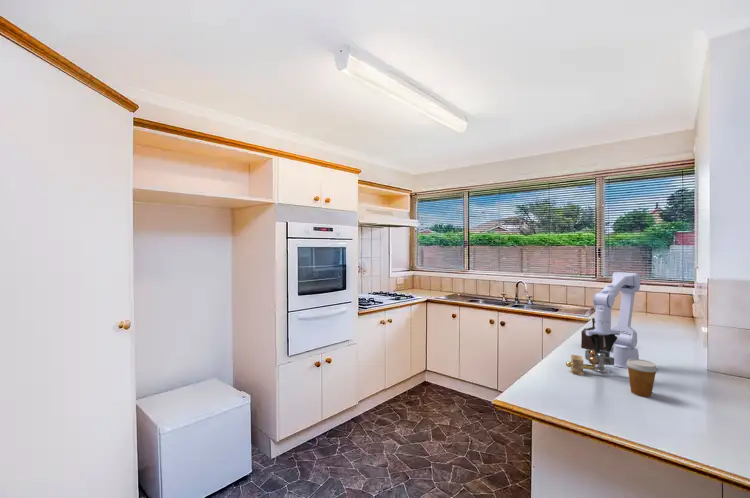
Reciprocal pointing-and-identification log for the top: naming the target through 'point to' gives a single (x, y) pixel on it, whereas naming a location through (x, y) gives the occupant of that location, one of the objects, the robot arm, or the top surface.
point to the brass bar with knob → (592, 360)
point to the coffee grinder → (586, 340)
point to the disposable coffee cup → (641, 376)
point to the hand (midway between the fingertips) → (602, 351)
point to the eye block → (577, 364)
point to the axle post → (601, 368)
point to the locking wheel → (600, 356)
